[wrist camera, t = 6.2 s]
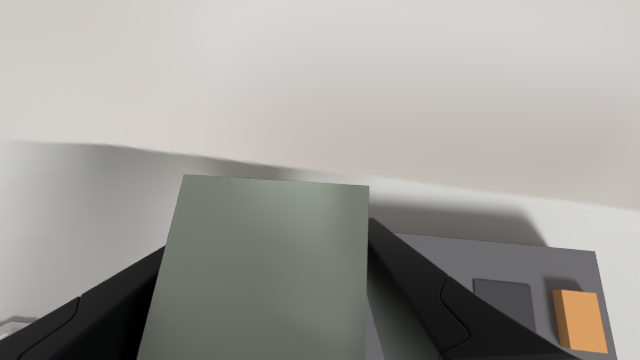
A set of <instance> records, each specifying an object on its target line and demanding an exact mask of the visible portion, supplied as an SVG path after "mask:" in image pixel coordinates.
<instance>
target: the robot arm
mask: <svg viewBox="0 0 640 360" xmlns="http://www.w3.org/2000/svg"><path fill="white" fill-rule="evenodd" d="M165 247H166V245H165V246H163V247H162V248H160V249H158V250H157V251H155V252H153V253H151V254H150V255H148V256H146V257H145V258H143V259H141V260H140V261H138V262H136V263H134V264H133V265H131V266H129V267H128V268H126V269H124V270H123V271H121V272H119V273H117V274H116V275H114V276H112V277H111V278H109V279H107V280H106V281H104V282H102V283H100V284H99V285H97V286H95V287H94V288H92V289H90V290H88V291H87V292H85V293H83V294H82V295H81V297H76V298H75V299H73V300H71V301H70V302H68V303H66V304H65V305H63V306H61V307H59V308H58V309H56V310H54V311H52V312H51V313H49V314H47V315H45V316H44V317H42V318H40V319H38V320H37V321H35V322H33V323H31V324H29V325H27V326H25V327H24V328H22V329H20V330H18V331H16V332H14V333H13V334H11V335H9V336H7V337H5V338H3V339H1V340H0V360H137V356H138V352H139V348H140V344H141V340H142V336H143V332H144V328H145V325H146V321H147V317H148V313H149V309H150V305H151V301H152V297H153V293H154V289H155V286H156V282H157V278H158V274H159V270H160V266H161V262H162V258H163V254H164V250H165ZM366 293H367V297H368V301H369V305H370V308H371V312H372V315H373V319H374V323H375V326H376V330H377V334H378V337H379V341H380V344H381V348H382V352H383V355H384V359H385V360H583V359H580V358H578V357H576V356H574V355H572V354H570V353H568V352H566V351H565V350H563V349H561V348H560V347H558V346H556V345H555V344H553V343H551V342H550V341H548V340H547V339H545V338H543V337H542V336H540V335H539V334H537V333H535V332H534V331H532V330H531V329H529V328H527V327H526V326H524V325H523V324H521V323H519V322H518V321H516V320H515V319H513V318H511V317H510V316H508V315H507V314H505V313H503V312H502V311H500V310H499V309H497V308H496V307H494V306H493V305H491V304H490V303H488V302H486V301H485V300H483V299H482V298H480V297H479V296H477V295H476V294H475V293H473V292H472V291H470V290H469V289H468V288H466V287H465V286H463V285H462V284H461V283H459V282H458V281H457V280H455V279H454V278H453V277H451V276H449V275H448V274H447V273H446V272H445V271H443V270H442V269H441V268H439V267H438V266H437V265H435V264H434V263H433V262H431V261H430V260H429V259H427V258H426V257H425V256H423V255H422V254H421V253H419V252H418V251H417V250H415V249H414V248H413V247H411V246H410V245H409V244H407V243H406V242H405V241H403V240H402V239H401V238H399V237H398V236H397V235H395V234H394V233H393V232H391V231H390V230H389V229H387V228H386V227H385V226H383V225H382V224H381V223H380V222H378V221H377V220H376V219H374V218H368V247H367V283H366Z"/></svg>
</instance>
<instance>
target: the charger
mask: <svg viewBox="0 0 640 360" xmlns="http://www.w3.org/2000/svg"><path fill="white" fill-rule="evenodd" d="M368 211H369V186H363V185H347V184H331V183H314V182H298V181H282V180H266V179H250V178H234V177H218V176H202V175H186V174H184V176H183V180H182V184H181V188H180V192H179V196H178V200H177V204H176V208H175V212H174V215H173V219H172V223H171V227H170V231H169V235H168V239H167V243H166V247H165V250H164V254H163V258H162V262H161V266H160V270H159V274H158V278H157V282H156V286H155V289H154V293H153V297H152V301H151V305H150V309H149V313H148V317H147V321H146V325H145V328H144V332H143V336H142V340H141V344H140V348H139V352H138V356H137V360H364V355H365V319H366V283H367V247H368Z"/></svg>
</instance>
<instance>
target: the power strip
mask: <svg viewBox="0 0 640 360" xmlns="http://www.w3.org/2000/svg"><path fill="white" fill-rule="evenodd" d="M394 234H395V235H397V236H398V237H399V238H401V239H402V240H403V241H405V242H406V243H407V244H409V245H410V246H411V247H413V248H414V249H415V250H417V251H418V252H419V253H421V254H422V255H423V256H425V257H426V258H427V259H429V260H430V261H431V262H433V263H434V264H435V265H437V266H438V267H439V268H441V269H442V270H443V271H445V272H446V273H447V274H448V275H449V276H451V277H453V278H454V279H455V280H457V281H458V282H459V283H461V284H462V285H463V286H465V287H466V288H468V289H469V290H470V291H472V292H473V293H475V294H476V295H477V296H479V297H480V298H482V299H483V300H485V301H486V302H488V303H490V304H491V305H493V306H494V307H496V308H497V309H499V310H500V311H502V312H503V313H505V314H507V315H508V316H510V317H511V318H513V319H515V320H516V321H518V322H519V323H521V324H523V325H524V326H526V327H527V328H529V329H531V330H532V331H534V332H535V333H537V334H539V335H540V336H542V337H543V338H545V339H547V340H548V341H550V342H551V343H553V344H555V345H556V346H558V347H560V348H561V349H563V350H565V351H566V352H568V353H570V354H572V355H574V356H576V357H578V358H580V359H583V360H617V356H616V351H615V346H614V341H613V337H612V332H611V327H610V322H609V317H608V312H607V308H606V303H605V298H604V293H603V288H602V283H601V278H600V274H599V269H598V264H597V259H596V254H595V251H585V250H575V249H564V248H553V247H543V246H532V245H521V244H510V243H500V242H489V241H478V240H468V239H457V238H446V237H436V236H425V235H414V234H404V233H394ZM364 360H385V359H384V355H383V352H382V348H381V344H380V341H379V337H378V334H377V330H376V326H375V323H374V319H373V315H372V312H371V308H370V305H369V301H368V297H367V293H366V319H365V355H364Z"/></svg>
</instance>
